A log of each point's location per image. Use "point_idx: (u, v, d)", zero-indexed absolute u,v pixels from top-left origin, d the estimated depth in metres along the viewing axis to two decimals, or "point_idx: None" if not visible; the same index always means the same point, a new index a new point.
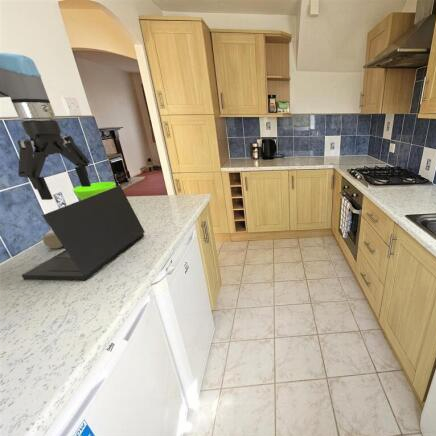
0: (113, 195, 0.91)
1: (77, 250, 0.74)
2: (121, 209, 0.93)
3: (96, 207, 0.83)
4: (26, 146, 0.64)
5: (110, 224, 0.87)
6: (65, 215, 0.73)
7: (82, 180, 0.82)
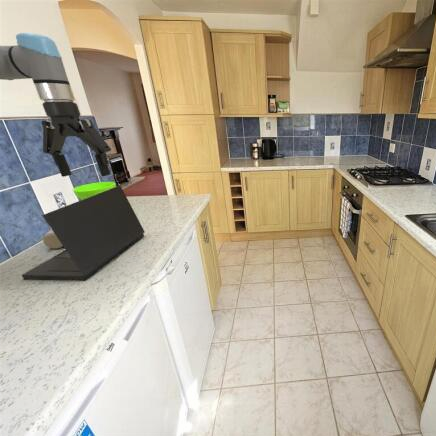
0: (113, 195, 0.91)
1: (77, 250, 0.74)
2: (121, 209, 0.93)
3: (96, 207, 0.83)
4: (92, 125, 0.72)
5: (110, 224, 0.87)
6: (65, 215, 0.73)
7: (64, 169, 0.77)
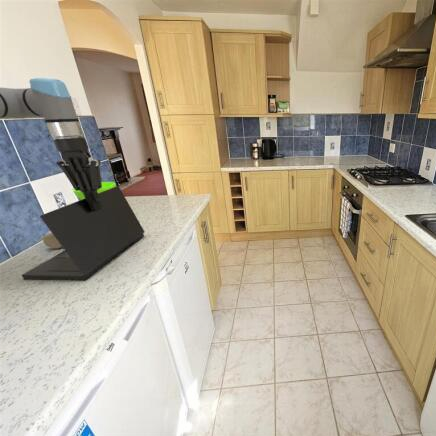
0: (111, 196, 0.91)
1: (76, 250, 0.74)
2: (120, 209, 0.93)
3: None
4: (99, 165, 0.77)
5: (109, 224, 0.87)
6: (63, 215, 0.73)
7: None
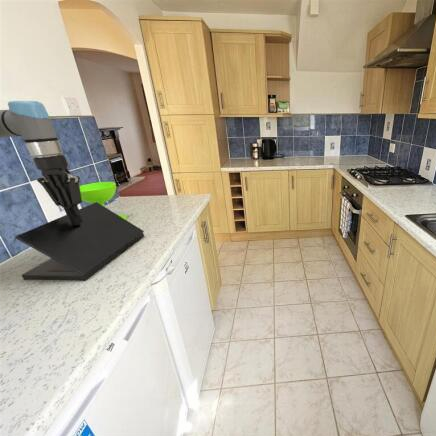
0: (91, 210, 0.94)
1: (65, 256, 0.75)
2: (106, 218, 0.95)
3: None
4: (78, 181, 0.80)
5: (97, 231, 0.89)
6: (40, 233, 0.76)
7: None
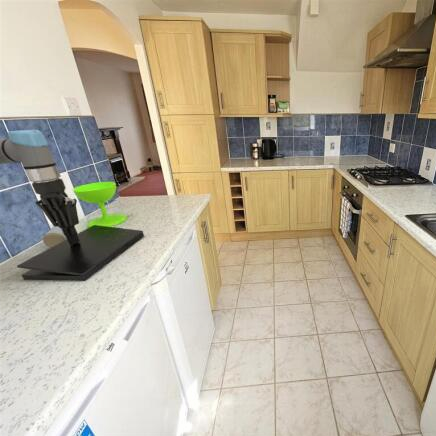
0: (89, 231, 0.98)
1: (64, 266, 0.77)
2: (103, 232, 0.98)
3: None
4: (75, 203, 0.83)
5: (95, 242, 0.91)
6: (40, 257, 0.80)
7: None
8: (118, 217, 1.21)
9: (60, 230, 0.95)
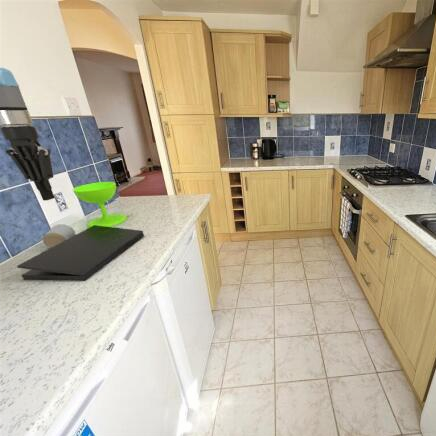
0: (89, 231, 0.98)
1: (64, 266, 0.77)
2: (103, 232, 0.98)
3: (73, 242, 0.90)
4: (49, 154, 0.78)
5: (95, 243, 0.91)
6: (40, 258, 0.80)
7: None
8: (118, 217, 1.21)
9: (60, 230, 0.95)
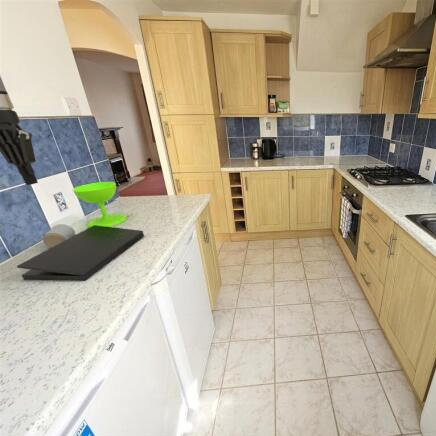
0: (89, 231, 0.98)
1: (64, 266, 0.77)
2: (103, 232, 0.98)
3: (73, 242, 0.90)
4: (30, 138, 0.79)
5: (95, 243, 0.91)
6: (40, 258, 0.80)
7: None
8: (118, 217, 1.21)
9: (60, 230, 0.95)
